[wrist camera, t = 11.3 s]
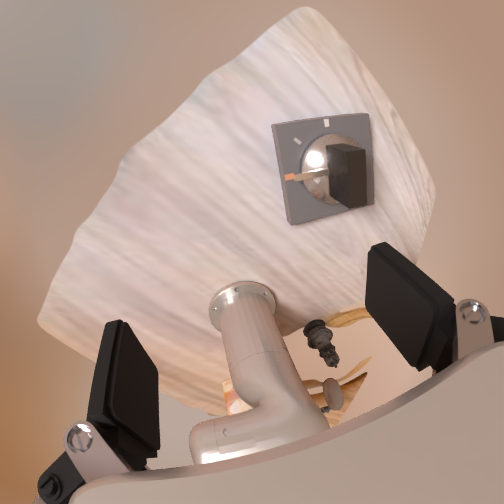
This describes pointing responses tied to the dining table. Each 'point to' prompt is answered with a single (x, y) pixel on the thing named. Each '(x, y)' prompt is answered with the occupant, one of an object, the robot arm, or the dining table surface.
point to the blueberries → (325, 409)
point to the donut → (333, 394)
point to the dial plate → (290, 152)
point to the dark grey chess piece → (321, 341)
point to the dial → (334, 170)
